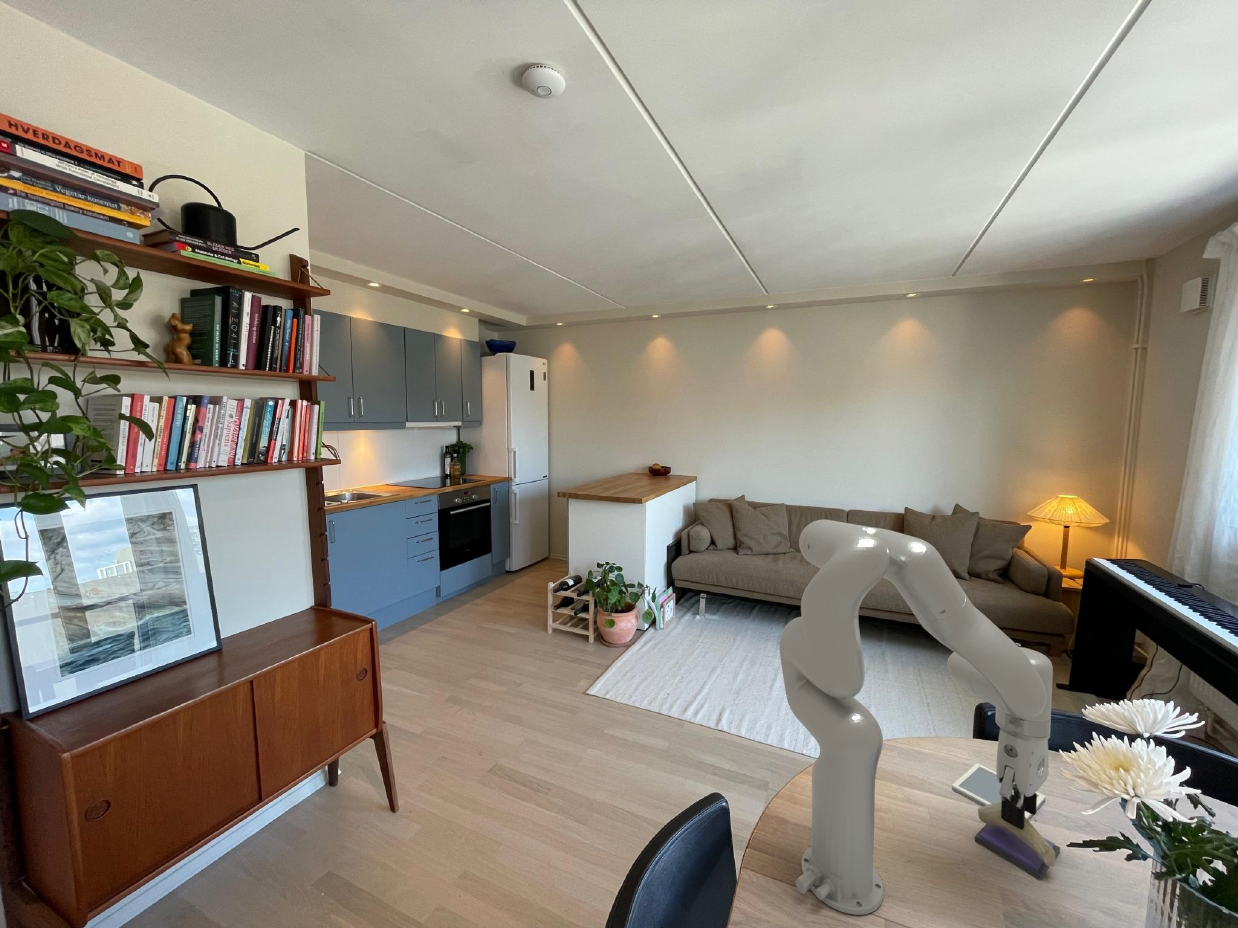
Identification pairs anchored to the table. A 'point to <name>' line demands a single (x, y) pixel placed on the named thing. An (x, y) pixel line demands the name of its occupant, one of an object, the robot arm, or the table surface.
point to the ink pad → (1013, 849)
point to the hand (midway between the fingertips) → (1018, 815)
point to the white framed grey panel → (985, 787)
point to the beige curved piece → (1019, 832)
